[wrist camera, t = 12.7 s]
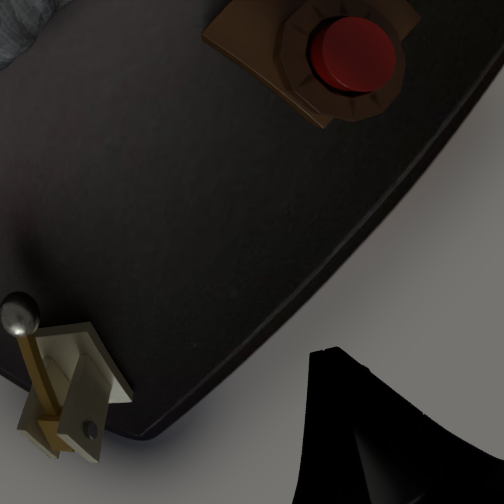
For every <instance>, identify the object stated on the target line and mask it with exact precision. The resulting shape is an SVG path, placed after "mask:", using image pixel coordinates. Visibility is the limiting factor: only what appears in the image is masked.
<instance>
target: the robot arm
mask: <svg viewBox="0 0 504 504" xmlns="http://www.w3.org/2000/svg"><path fill="white" fill-rule="evenodd" d="M292 504H504V460H501V459H498V458H496V457H493V456H491V455H489V454H487V453H486V452H484V451H482V450H480V449H478V448H476V447H475V446H473V445H471V444H469V443H468V442H466V441H464V440H462V439H461V438H459V437H457V436H456V435H454V434H452V433H451V432H449V431H447V430H446V429H444V428H443V427H442V426H440V425H439V424H438V423H436V422H435V421H433V420H432V419H431V418H429V417H428V416H427V415H425V414H424V415H423V413H422V412H421V411H420V410H419V409H418V408H416V407H415V406H414V405H412V404H411V403H410V402H408V401H407V400H406V399H404V398H403V397H402V396H401V395H399V394H398V393H397V392H395V391H394V390H393V389H392V388H390V387H389V386H388V385H386V384H385V383H384V382H383V381H381V380H380V379H379V378H377V377H376V376H375V375H374V374H372V373H371V372H370V371H369V370H367V369H366V368H365V367H364V366H362V365H361V364H360V363H358V362H357V361H356V360H354V359H353V358H352V357H351V356H350V355H348V354H347V353H346V352H345V351H343V350H342V349H341V348H339V347H332V348H328V349H325V350H324V351H323V350H320V351H315V352H311V353H310V356H309V372H308V387H307V402H306V414H305V425H304V436H303V446H302V455H301V463H300V470H299V477H298V482H297V487H296V491H295V495H294V498H293V502H292Z"/></svg>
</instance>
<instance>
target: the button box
mask: <svg viewBox="0 0 504 504" xmlns="http://www.w3.org/2000/svg"><path fill="white" fill-rule="evenodd" d="M351 16H353V17H361V18H365V19H367V20H370V21H372V22H373V23H375V24H376V25H378V26H379V27H380V28H381V29H382V30H383V31H384V32H385V33H386V34H387V36H388V37H389V39H390V41H391V43H392V45H393V48H394V52H395V68H394V71H393V74H392V76H391V78H390V79H389V80H388V82H387V83H386V84H385V85H384V86H382V87H381V88H379V89H377V90H374V91H369V92H358V91H357V92H356V91H343V90H339V89H336V88H334V87H332V86H330V85H328V84H327V83H326V82H324V81H323V80H322V79H321V78H320V76H319V75H318V74H317V72H316V71H315V69H314V67H313V65H312V61H311V56H310V47H311V43H312V40H313V38H314V36H315V34H316V33H317V32H318V31H319V30H320V29H321V28H323V27H324V26H326V25H328V24H330V23H332V22H335V21H337V20H339V19H341V18H345V17H351ZM421 19H422V18H421V16H420V15H419V14H418V13H417V12H416V11H415V9H414V8H413V7H412V6H411V5H410V4H409V3H408V2H407V1H406V0H232V1H231V2H230V3H229V4H228V5H227V6H226V7H225V8H224V9H223V10H222V11H221V12H220V13H219V14H218V15H217V16H216V17H215V18H214V20H213V21H212V22H211V23H210V24H209V25H208V26H207V27H206V28H205V29H204V31H203V32H202V33H201V38H202V41H203V42H205V43H207V44H208V45H210V46H211V47H212V48H214V49H215V50H217V51H218V52H220V53H221V54H223V55H224V56H226V57H227V58H228V59H230V60H231V61H233V62H234V63H235V64H237V65H238V66H240V67H241V68H242V69H244V70H245V71H246V72H248V73H249V74H250V75H252V76H253V77H254V78H256V79H257V80H258V81H260V82H261V83H262V84H264V85H265V86H266V87H267V88H269V89H270V90H271V91H272V92H274V93H275V94H276V95H277V96H279V97H280V98H281V99H282V100H284V101H285V102H286V103H287V104H288V105H290V106H291V107H292V108H293V109H294V110H296V111H297V112H298V113H299V114H300V115H302V116H303V117H304V118H305V119H306V120H307V121H308V122H310V123H311V124H312V125H314V126H317V127H320V128H323V129H324V128H325V127H326V126H327V125H328V124H329V122H330V121H331V120H332V119H333V118H338V119H342V120H346V121H350V122H355V121H359V120H362V119H365V118H368V117H371V116H375V115H378V114H381V113H383V112H384V111H385V110H386V108H387V107H388V106H389V105H390V104H391V102H392V101H393V100H394V99H395V98H396V97H397V95H398V94H399V93H400V92H401V89H402V84H403V78H404V72H405V65H406V58H405V55H404V51H403V48H402V45H401V41H402V40H403V39H404V38H405V36H406V35H407V34H408V33H409V32H410V31H411V30H412V29H413V28H414V27H415V25H416V24H417V23H418V22H419V21H420V20H421Z"/></svg>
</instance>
